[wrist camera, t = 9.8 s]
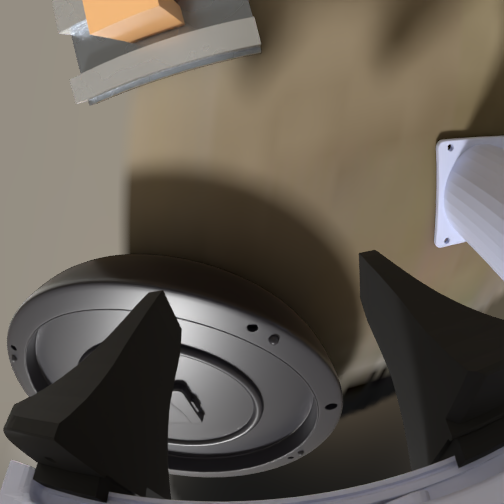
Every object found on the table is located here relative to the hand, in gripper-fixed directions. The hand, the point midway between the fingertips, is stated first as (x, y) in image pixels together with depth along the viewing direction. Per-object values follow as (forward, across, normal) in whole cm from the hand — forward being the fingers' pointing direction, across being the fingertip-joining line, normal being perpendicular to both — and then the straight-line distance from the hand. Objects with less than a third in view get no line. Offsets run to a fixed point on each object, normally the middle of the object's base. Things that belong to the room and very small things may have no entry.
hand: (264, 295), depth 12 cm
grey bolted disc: (+10, +12, +15) cm, 22 cm away
